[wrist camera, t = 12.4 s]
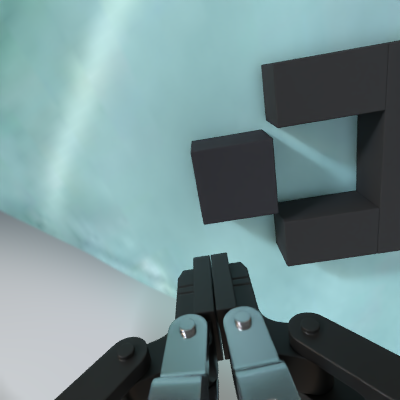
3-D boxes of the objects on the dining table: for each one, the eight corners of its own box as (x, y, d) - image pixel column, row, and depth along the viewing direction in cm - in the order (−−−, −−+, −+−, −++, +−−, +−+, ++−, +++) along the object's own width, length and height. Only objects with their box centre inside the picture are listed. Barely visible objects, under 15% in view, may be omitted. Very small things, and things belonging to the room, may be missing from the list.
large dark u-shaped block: (276, 243, 30) (287, 266, 26) (261, 65, 24) (272, 63, 21) (392, 225, 30) (420, 247, 26) (405, 39, 24) (444, 32, 20)
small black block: (202, 205, 29) (203, 225, 25) (191, 141, 26) (190, 152, 23) (268, 195, 28) (278, 213, 25) (262, 129, 26) (273, 138, 22)
